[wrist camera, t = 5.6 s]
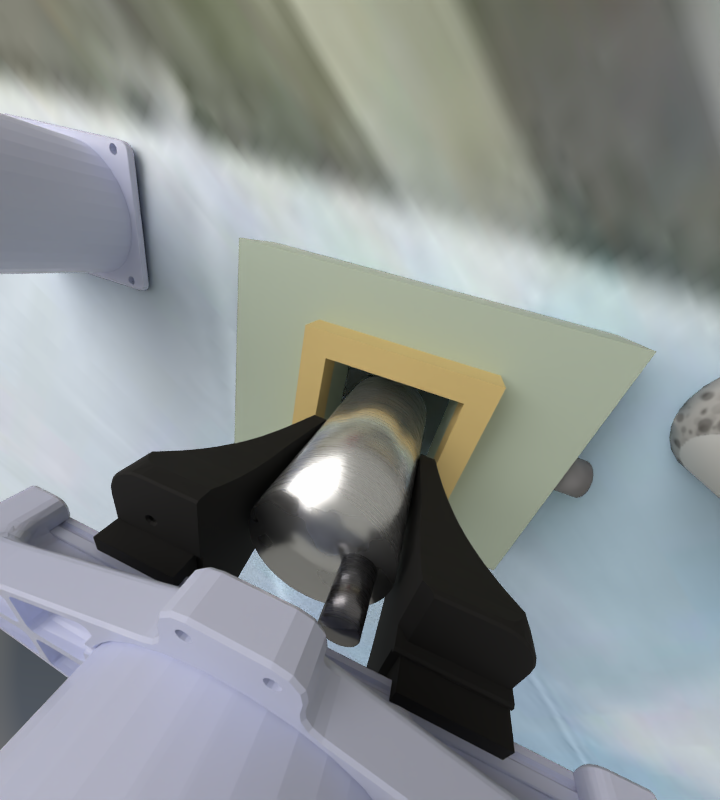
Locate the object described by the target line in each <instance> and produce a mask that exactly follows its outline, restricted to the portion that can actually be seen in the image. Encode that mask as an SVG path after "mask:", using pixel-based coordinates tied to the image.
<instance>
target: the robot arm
mask: <svg viewBox="0 0 720 800" xmlns="http://www.w3.org/2000/svg"><path fill="white" fill-rule="evenodd" d="M30 273H89V274H92V275H95V276H98V277H101V278H104V279H107V280H110V281H113V282H116V283H119V284H122V285H126V286H129V287H132V288H135V289H138V290H146V289H148V287H149V282H148V273H147V265H146V256H145V247H144V239H143V230H142V221H141V213H140V204H139V195H138V187H137V178H136V169H135V161H134V153H133V150H132V148H131V146H130V145H129V144H128V143H127V142H125V141H122V140H119V139H115V138H111V137H106V136H102V135H98V134H93V133H89V132H84V131H80V130H76V129H71V128H67V127H63V126H58V125H54V124H49V123H45V122H41V121H36V120H32V119H27V118H23V117H19V116H14V115H10V114H2V113H0V274H30ZM325 422H326V419H324V418H321V417H318V416H316V415H313V416H311V417H308V418H306V419H304V420H302V421H299V422H297V423H295V424H292V425H290V426H288V427H285V428H283V429H280V430H278V431H275V432H272V433H269V434H266V435H264V436H261V437H257V438H254V439H250V440H247V441H243V442H239V443H234V444H229V445H223V446H218V447H212V448H204V449H195V450H183V451H160V452H151V453H149V454H148V455H146V456H144V457H143V458H141V459H139V460H138V461H136V462H134V463H133V464H131V465H129V466H128V467H126V468H124V469H123V470H121V471H120V472H118V473H117V474H116V475H115V476H114V477H113V480H112V483H111V490H112V495H113V499H114V503H115V507H116V511H117V515H118V519H117V520H115V521H114V522H112V523H111V524H110V525H108V526H107V527H106V528H104V529H103V530H102V531H100V532H98V531H96V530H94V529H92V528H90V527H88V526H86V525H84V524H82V523H80V522H78V521H76V520H74V519H72V518H70V512H69V509H68V507H67V505H66V503H65V502H64V501H63V500H62V499H61V498H59V497H58V496H56V495H53V494H51V493H49V492H47V491H45V490H43V489H41V488H39V487H37V486H31V487H29V488H27V489H25V490H23V491H21V492H19V493H17V494H15V495H13V496H11V497H9V498H8V499H6V500H4V501H2V502H0V629H2V630H3V631H4V632H6V633H7V634H8V635H10V636H11V637H13V638H14V639H15V640H17V641H18V642H20V643H21V644H23V645H24V646H25V647H27V648H28V649H29V650H31V651H32V652H34V653H35V654H36V655H37V656H39V657H40V658H42V659H43V660H44V661H46V662H47V663H49V664H50V665H51V666H53V667H54V668H55V669H57V670H58V671H59V672H61V673H62V674H64V675H65V676H66V677H68V679H67V680H66V681H65V682H64V683H63V685H62V686H60V688H59V689H58V690H57V691H56V692H55V693H54V694H53V695H52V696H51V697H50V698H49V699H48V700H47V701H46V702H45V703H44V704H43V706H42V707H41V708H40V709H39V710H38V711H37V712H36V713H35V714H34V715H33V716H32V717H31V719H30V720H28V722H27V723H26V724H25V725H24V726H23V727H22V728H21V729H20V730H19V731H18V732H17V733H16V734H15V735H14V736H13V737H12V738H11V740H10V741H9V742H8V743H7V744H6V745H5V746H4V747H3V748H2V749H1V750H0V800H657V799H656V796H655V795H654V794H653V793H652V792H651V791H650V790H649V789H647V788H645V787H643V786H640V785H638V784H636V783H634V782H632V781H630V780H628V779H626V778H624V777H622V776H620V775H618V774H616V773H614V772H612V771H610V770H608V769H606V768H604V767H601V766H598V765H592V764H586V765H582V766H580V767H579V768H577V769H576V770H575V771H574V772H572V771H570V770H568V769H566V768H564V767H562V766H560V765H558V764H556V763H554V762H552V761H550V760H548V759H547V758H545V757H543V756H541V755H539V754H537V753H535V752H533V751H531V750H529V749H527V748H525V747H523V746H521V745H519V744H517V743H515V742H513V733H512V725H511V717H510V710H511V711H512V710H513V709H514V705H515V704H514V696H513V688H514V687H515V686H516V685H517V684H518V683H519V682H521V681H522V680H523V679H524V678H525V677H527V676H528V675H529V674H530V673H531V672H532V670H533V669H534V668H535V666H536V653H535V648H534V643H533V639H532V635H531V630H530V627H529V624H528V621H527V617H526V614H525V612H524V611H523V610H522V609H521V608H520V606H519V605H518V604H517V603H516V602H515V601H514V600H513V598H512V597H511V596H510V595H509V594H508V593H507V592H506V591H505V589H504V588H503V587H502V586H501V585H500V583H499V582H498V581H497V580H496V578H495V577H494V576H493V575H492V573H491V572H490V571H489V569H488V568H487V567H486V565H485V564H484V563H483V561H482V560H481V558H480V557H479V555H478V554H477V552H476V551H475V549H474V548H473V546H472V545H471V543H470V542H469V540H468V539H467V537H466V535H465V534H464V532H463V530H462V528H461V526H460V525H459V523H458V521H457V519H456V516H455V514H454V512H453V510H452V508H451V505H450V503H449V501H448V498H447V496H446V493H445V490H444V488H443V485H442V482H441V479H440V475H439V472H438V468H437V464H436V461H435V459H432V458H430V457H427V456H424V455H422V454H421V455H420V457H419V460H418V465H417V470H416V476H415V481H414V486H413V492H412V497H411V502H410V507H409V512H408V518H407V523H406V528H405V533H404V538H403V544H402V549H401V554H400V559H399V564H398V570H397V575H396V580H395V583H394V585H393V588H392V589H391V591H390V592H389V593H388V594H387V595H386V596H385V599H384V603H383V607H382V611H381V615H380V619H379V623H378V627H377V630H376V634H375V638H374V642H373V646H372V649H371V653H370V657H369V661H368V664H367V667H365V666H363V665H361V664H359V663H357V662H355V661H353V660H351V659H349V658H347V657H345V656H343V655H341V654H339V653H337V652H335V651H333V650H331V649H329V648H327V639H326V634H325V631H324V629H323V628H322V627H321V626H320V624H319V623H318V622H317V621H316V619H315V618H314V617H312V616H311V615H309V614H308V613H306V612H305V611H303V610H302V609H300V608H299V607H297V606H295V605H292V604H290V603H288V602H286V601H284V600H282V599H280V598H278V597H276V596H274V595H272V594H270V593H268V592H266V591H264V590H262V589H260V588H258V587H256V586H254V585H252V584H250V583H248V582H246V581H244V580H241V579H239V578H238V576H239V575H240V573H241V571H242V569H243V568H244V566H245V564H246V563H247V561H248V559H249V557H250V556H251V554H252V552H253V551H254V549H255V547H254V544H253V542H252V539H251V536H250V530H249V518H250V514H251V511H252V509H253V507H254V505H255V504H256V502H257V501H258V500H259V499H260V498H261V497H262V495H263V494H264V493H265V492H266V491H267V490H268V488H269V487H270V486H271V485H272V484H273V483H274V481H275V480H276V479H277V478H278V477H279V476H280V474H281V473H282V472H283V471H284V470H285V468H286V467H287V466H288V465H289V464H290V463H291V461H292V460H293V459H294V458H295V457H296V456H297V454H298V453H299V452H300V451H301V450H302V449H303V447H304V446H305V445H306V444H307V443H308V442H309V440H310V439H311V438H312V437H313V436H314V435H315V433H316V432H317V431H318V430H319V429H320V428H321V426H322V425H323V424H324V423H325Z"/></svg>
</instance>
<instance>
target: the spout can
mask: <svg viewBox="0 0 720 800" xmlns="http://www.w3.org/2000/svg"><path fill="white" fill-rule="evenodd" d="M426 418H427V412H426V407H425V403H424V401H423V398H422V397H421V395H420V394H419V392H418V391H417V390H416V389H415V388H414V387H412V386H409V385H406V384H403V383H400V382H397V381H394V380H391V379H388V378H385V377H382V376H379V375H376V376H372V377H369V378H366V379H364V380H363V381H361V382H360V383H359V384H358V385H357V386H356V387H355V388H354V389H353V390H352V391H351V392H350V394H349V395H348V396H347V397H346V398H345V399H344V401H343V402H342V403H341V404H340V405H339V406H338V408H337V409H336V410H335V411H334V412H333V413H332V415H331V416H330V417H329V418H328V419H327V420H326V422H325V423H324V424H323V425H322V426H321V428H320V429H319V430H318V431H317V432H316V433H315V435H314V436H313V437H312V438H311V439H310V440H309V442H308V443H307V444H306V445H305V446H304V447H303V449H302V450H301V451H300V452H299V453H298V454H297V456H296V457H295V458H294V459H293V460H292V461H291V463H290V464H289V465H288V466H287V467H286V468H285V470H284V471H283V472H282V473H281V474H280V476H279V477H278V478H277V479H276V480H275V481H274V483H273V484H272V485H271V486H270V487H269V488H268V490H267V491H266V492H265V493H264V494H263V495H262V497H261V498H260V499H259V500H258V501H257V502H256V504H255V505H254V507H253V509H252V511H251V514H250V518H249V530H250V536H251V539H252V542H253V544H254V547H255V549H256V551H257V552H258V554H259V556H260V557H261V559H262V560H263V561H264V563H265V564H266V565H267V566H268V567H269V569H270V570H271V571H272V572H273V573H274V574H275V575H276V576H278V577H279V578H280V579H281V580H282V581H284V582H285V583H286V584H288V585H289V586H290V587H292V588H293V589H295V590H297V591H298V592H300V593H302V594H304V595H306V596H308V597H310V598H312V599H315V600H318V601H320V602H323V603H325V604H324V607H323V609H322V612H321V615H320V617H319V620H318V623H319V624H320V626H321V627H322V628H323V629H324V631H325V634H326V638H327V639H328V640H330V641H332V642H333V643H335V644H338V645H341V646H345V647H354V646H356V645H358V644H359V642H360V638H361V634H362V630H363V626H364V623H365V619H366V615H367V611H368V607H369V605H370V604H373V603H376V602H378V601H380V600H381V599H383V598H384V597H385V596H386V595H387V594H388V593H389V592H390V591H391V589H392V588H393V585H394V583H395V580H396V575H397V570H398V564H399V559H400V554H401V549H402V544H403V538H404V533H405V528H406V523H407V518H408V512H409V507H410V502H411V497H412V492H413V486H414V481H415V476H416V470H417V465H418V460H419V455H420V450H421V445H422V439H423V434H424V429H425V424H426Z"/></svg>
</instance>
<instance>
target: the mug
mask: <svg viewBox="0 0 720 800" xmlns="http://www.w3.org/2000/svg"><path fill="white" fill-rule="evenodd" d="M669 438H670V444H671V450H672V451H673V453H674V455H675V457H676V459H677V461H678V462H679V463H680V464H682V465H683V466H684V467H685V468H686V469H687V470H688V471H689V472H690V473H692V474H693V475H694V476H695V477H696V478H697V479H698V480H700V481H701V482H702V483H703V484H704V485H705V486H706V487H707V488H709V489H710V490H711V491H712V492H713V493H714V494H715V495H717V496H718V497H719V498H720V378H718V379H716V380H714V381H713V382H711V383H709V384H708V385H706V386H704V387H703V388H702V389H700V390H699V391H698V392H697V393H695V394H694V395H693V396H692V397H691V398H689V399H688V401H687V402H686V403H685V404H684V405H683V406H682V408H681V409H680V410H679V412H678V413H677V415H676V417H675V418H674V421H673V423H672V426H671V431H670V437H669Z"/></svg>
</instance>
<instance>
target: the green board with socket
mask: <svg viewBox="0 0 720 800" xmlns="http://www.w3.org/2000/svg"><path fill="white" fill-rule="evenodd" d="M655 353H656V351H653V350H651V349H649V348H646V347H644V346H642V345H639V344H637V343H635V342H632V341H630V340H628V339H625V338H623V337H621V336H618V335H615V334H611V333H608V332H604V331H600V330H597V329H593V328H589V327H585V326H582V325H578V324H574V323H571V322H567V321H563V320H560V319H556V318H552V317H548V316H545V315H541V314H537V313H534V312H530V311H526V310H523V309H519V308H515V307H511V306H508V305H504V304H500V303H497V302H493V301H489V300H486V299H482V298H478V297H474V296H471V295H467V294H463V293H460V292H456V291H452V290H449V289H445V288H441V287H437V286H434V285H430V284H426V283H423V282H419V281H415V280H412V279H408V278H404V277H400V276H397V275H393V274H389V273H386V272H382V271H378V270H375V269H371V268H367V267H363V266H360V265H356V264H352V263H349V262H345V261H341V260H338V259H334V258H330V257H326V256H323V255H319V254H315V253H312V252H308V251H304V250H301V249H297V248H293V247H289V246H286V245H282V244H278V243H275V242H268V241H260V240H253V239H245V238H239V264H238V308H237V353H236V397H235V442H234V443H239V442H243V441H247V440H250V439H254V438H257V437H261V436H264V435H266V434H269V433H272V432H275V431H278V430H280V429H283V428H285V427H288V426H290V425H292V424H295V423H297V422H299V421H302V420H304V419H306V418H308V417H311V416H313V415H316V416H318V417H321V418H324V419H326V420H327V419H328V418H329V417H330V416H331V415H332V413H333V412H334V411H335V410H336V409H337V408H338V406H339V405H340V404H341V400H342V395H343V391H344V386H345V382H346V377H347V373H348V368H349V366H351V367H354V368H357V369H360V370H363V371H366V372H369V373H372V374H375V375H379V376H382V377H385V378H388V379H391V380H394V381H397V382H400V383H403V384H406V385H409V386H412V387H415V388H418V389H421V390H424V391H427V392H430V393H433V394H436V395H439V396H442V397H445V398H448V399H450V401H449V403H448V406H447V408H446V410H445V413H444V415H443V417H442V420H441V422H440V424H439V427H438V429H437V431H436V434H435V436H434V438H433V441H432V443H431V446H430V448H429V450H428V453H427V455H426V456H427V457H430V458H432V459H435V461H436V464H437V468H438V472H439V475H440V479H441V482H442V485H443V488H444V490H445V493H446V496H447V498H448V501H449V503H450V505H451V508H452V510H453V512H454V514H455V516H456V519H457V521H458V523H459V525H460V526H461V528H462V530H463V532H464V534H465V535H466V537H467V539H468V540H469V542H470V543H471V545H472V546H473V548H474V549H475V551H476V552H477V554H478V555H479V557H480V558H481V560H482V561H483V563H484V564H485V565H486V567H487V568H489V569H492V570H494V569H495V568H496V566H497V565H498V564H499V562H500V561H501V560H502V558H503V557H504V556H505V554H506V553H507V552H508V550H509V549H510V547H511V546H512V545H513V543H514V542H515V541H516V539H517V538H518V537H519V535H520V534H521V533H522V531H523V530H524V529H525V527H526V526H527V525H528V523H529V522H530V521H531V519H532V518H533V517H534V515H535V514H536V513H537V511H538V510H539V509H540V507H541V506H542V505H543V503H544V502H545V500H546V499H547V498H548V496H549V495H550V494H551V492H552V491H553V490H555V491H558V492H561V493H564V494H566V495H569V496H572V497H575V498H578V497H581V496H583V495H584V494H585V493H586V492H587V491H588V489H589V488H590V486H591V483H592V480H593V469H592V466H591V464H590V463H589V462H588V461H585V460H582V459H579V458H578V456H579V455H580V453H581V452H582V451H583V449H584V448H585V447H586V445H587V444H588V443H589V441H590V440H591V439H592V437H593V436H594V435H595V433H596V432H597V431H598V429H599V428H600V427H601V425H602V424H603V423H604V421H605V420H606V419H607V417H608V416H609V415H610V413H611V412H612V411H613V409H614V408H615V406H616V405H617V404H618V402H619V401H620V400H621V398H622V397H623V396H624V394H625V393H626V392H627V390H628V389H629V388H630V386H631V385H632V384H633V382H634V381H635V380H636V378H637V377H638V376H639V374H640V373H641V372H642V370H643V369H644V368H645V366H646V365H647V363H648V362H649V361H650V359H651V358H652V357H653V355H654V354H655ZM419 457H420V456H419Z"/></svg>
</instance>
